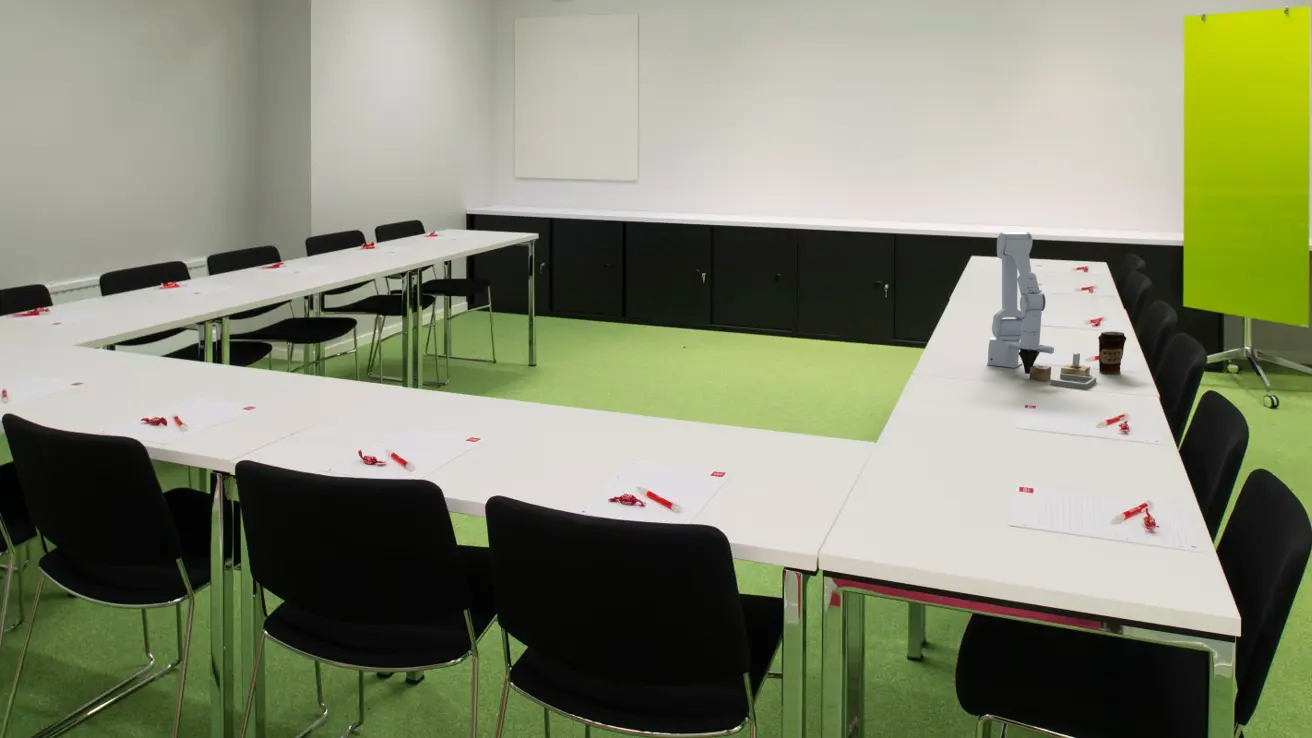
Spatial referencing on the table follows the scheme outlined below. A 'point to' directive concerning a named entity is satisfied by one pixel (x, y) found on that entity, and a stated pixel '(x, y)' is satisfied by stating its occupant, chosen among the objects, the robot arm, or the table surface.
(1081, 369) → the oak block
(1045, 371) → the walnut block
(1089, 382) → the grey arch piece
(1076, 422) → the table surface
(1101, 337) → the coffee cup
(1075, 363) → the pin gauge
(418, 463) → the table surface
